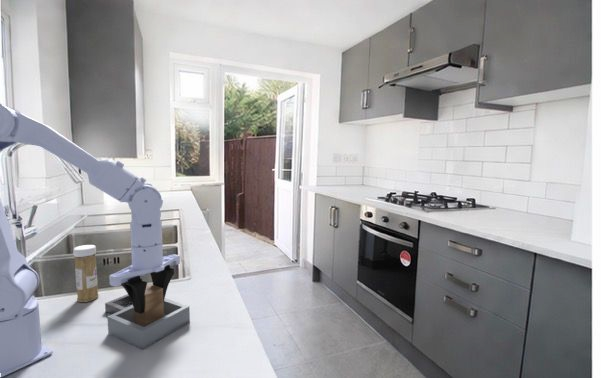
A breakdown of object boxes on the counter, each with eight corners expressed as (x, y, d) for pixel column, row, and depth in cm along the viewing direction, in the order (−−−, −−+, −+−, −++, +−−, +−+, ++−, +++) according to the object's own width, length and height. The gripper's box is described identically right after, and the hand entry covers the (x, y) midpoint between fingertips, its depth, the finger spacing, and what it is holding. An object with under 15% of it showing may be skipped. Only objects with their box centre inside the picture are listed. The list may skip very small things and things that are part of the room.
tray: (143, 349, 57) (142, 331, 56) (108, 333, 62) (107, 316, 61) (189, 322, 66) (189, 306, 66) (156, 309, 71) (155, 295, 71)
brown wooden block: (146, 328, 61) (145, 295, 61) (134, 323, 63) (132, 291, 63) (164, 319, 65) (162, 288, 64) (151, 314, 67) (150, 284, 66)
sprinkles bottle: (98, 300, 76) (95, 247, 75) (76, 304, 74) (72, 250, 72) (98, 293, 80) (95, 243, 79) (77, 297, 77) (73, 245, 76)
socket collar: (124, 319, 67) (124, 310, 67) (105, 311, 71) (105, 303, 70) (153, 305, 74) (153, 297, 73) (134, 298, 77) (134, 291, 77)
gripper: (124, 256, 54) (127, 329, 55) (188, 238, 67) (190, 297, 68) (101, 250, 57) (105, 319, 59) (167, 234, 70) (169, 290, 71)
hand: (149, 307), depth 64 cm, fingers closed on brown wooden block, 4 cm apart
